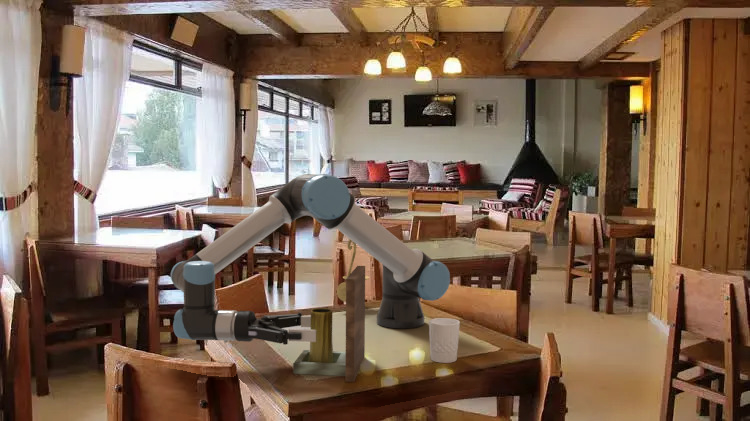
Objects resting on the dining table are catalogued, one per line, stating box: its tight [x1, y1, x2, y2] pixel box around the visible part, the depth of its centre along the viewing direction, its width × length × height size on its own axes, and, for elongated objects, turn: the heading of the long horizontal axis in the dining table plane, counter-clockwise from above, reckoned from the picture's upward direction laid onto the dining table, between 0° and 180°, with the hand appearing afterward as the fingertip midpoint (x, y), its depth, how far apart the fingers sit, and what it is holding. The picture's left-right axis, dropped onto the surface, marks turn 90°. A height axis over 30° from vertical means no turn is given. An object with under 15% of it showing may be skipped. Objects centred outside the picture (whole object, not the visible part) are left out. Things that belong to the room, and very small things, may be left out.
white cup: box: [428, 317, 461, 364], centre depth 167 cm, size 8×8×10 cm
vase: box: [309, 307, 334, 363], centre depth 160 cm, size 6×6×14 cm
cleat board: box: [292, 265, 366, 383], centre depth 159 cm, size 15×20×24 cm
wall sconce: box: [336, 238, 370, 303], centre depth 227 cm, size 14×10×25 cm
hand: (321, 328), depth 159 cm, fingers open, 13 cm apart
